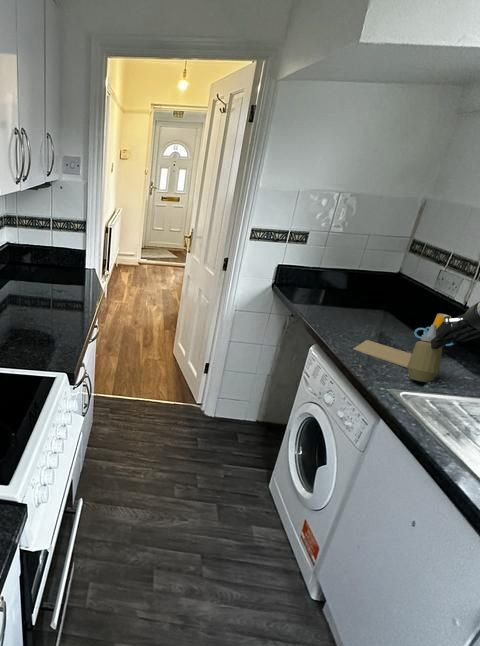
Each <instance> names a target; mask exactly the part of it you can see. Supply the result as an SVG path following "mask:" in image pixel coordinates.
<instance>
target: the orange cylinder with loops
mask: <svg viewBox="0 0 480 646" xmlns="http://www.w3.org/2000/svg"><path fill="white" fill-rule="evenodd" d="M445 316H450V318H452V316H451V315H448V314H445V313H436V316H435V318H434V321H433V323H432V325H436V326H437V328H438V327H439V326H440V325H441V323H442V322H443V321H444V317H445ZM430 327H431V326H427V327H425V328H424V327H418V328H416V329H414V332H413V334H414V337H415V338H417V339H419V340H421V337H422V336H419V335H418V331H423V334H422V335H426V334H427V332H428V330H429V329H430ZM421 341H423V340H421ZM454 345H455V344H453V343H452V342H451V343H449V344H446V345H444V346H445V347H452V346H454ZM444 346H442V348H444Z"/></svg>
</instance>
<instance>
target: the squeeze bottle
mask: <svg viewBox="0 0 480 646" xmlns="http://www.w3.org/2000/svg"><path fill="white" fill-rule="evenodd" d="M429 327H430V329H427V330H428V332H427V334H426V335H424V334H422V335H421V336H420V337H421V339H420V340H418V341H416V342H415V344H414V347H413V350H412V353H411V354H412V355H411V358H410V360H409V363H408V366H407V367H408V368H407V373H408V378H409V379H411V380H414V381H417V382H421V383H429V382H433V381H434V380H435V379H436V378H437V376H438V375H439V373H440V369H441V368H440V367H441V366H440V365H441V360H442V351H443V347H440V348H439V349H432V348H431V340H432V339H434V338H435V337H436V329H437V326H436V325H433V324H431V325H430V326H429ZM422 340H423V341H422Z"/></svg>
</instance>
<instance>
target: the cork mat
mask: <svg viewBox="0 0 480 646" xmlns="http://www.w3.org/2000/svg"><path fill="white" fill-rule="evenodd" d="M352 350H354V351H357V352H360V353H363V354H366V355H368V356H370V357H373V358H376V359H379V360H382V361H385V362H387V363H391V364H394V365H397V366H400V367H402V368H406V369H408V367H407V366H408V363H409V360H410V358H411V355H412V353H411V352H407V351H404V350H400V349H397V348H395V347H391V346H389V345H385V344H381V343H380V342H379V343H378V342H375V341H371V340H369V339H365V340H364V341H363V342H361V343H359V344H358V345H357V346H355V347H353V348H352Z"/></svg>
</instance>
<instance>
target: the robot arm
mask: <svg viewBox="0 0 480 646" xmlns="http://www.w3.org/2000/svg"><path fill="white" fill-rule="evenodd" d="M450 316H451V315H449V316H445V317H444V321H443V322H442V323H441V325H440V326H439V327H438V328H437V329H436V337H435V338H434V339H432V340H431V348H432V349H439V348H440V347H442V346H443V347H444V345H446V344H451V343H453V344H454V345H457V344H458V341H460V342H462V343H464V342H468V341H471V340H474V339H477V338H480V301H478V302H477V303H475V304H473V305H471V306H470V307H469V308H468V309H467V310H466V311H465V313H463V314H460V315H458V316H457V317H454V318H453V317H451V318H450ZM443 347H442V348H443Z"/></svg>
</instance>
